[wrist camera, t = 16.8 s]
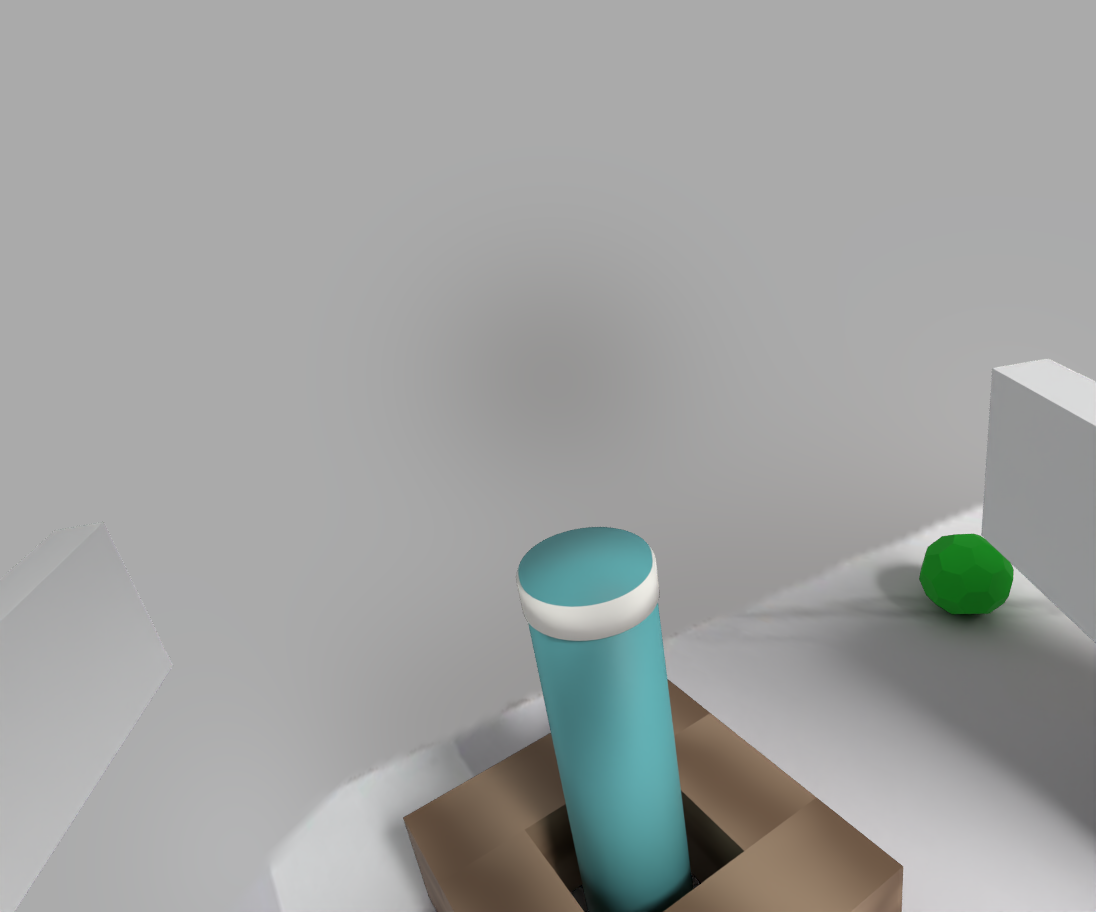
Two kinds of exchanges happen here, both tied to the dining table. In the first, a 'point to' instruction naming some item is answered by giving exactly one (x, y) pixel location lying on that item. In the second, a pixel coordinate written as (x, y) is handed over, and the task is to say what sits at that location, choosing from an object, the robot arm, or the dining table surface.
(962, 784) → the dining table surface
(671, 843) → the peg
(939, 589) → the polyhedron
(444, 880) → the socket block
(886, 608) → the dining table surface
